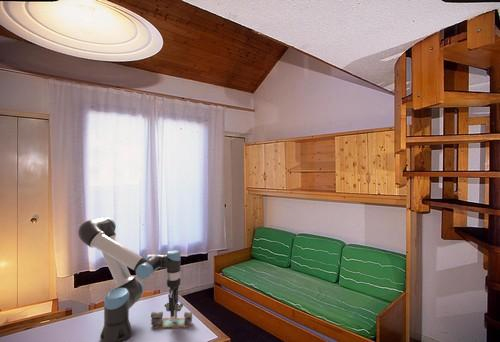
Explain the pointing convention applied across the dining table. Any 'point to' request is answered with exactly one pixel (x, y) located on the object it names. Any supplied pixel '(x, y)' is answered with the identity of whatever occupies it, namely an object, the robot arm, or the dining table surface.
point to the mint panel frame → (166, 322)
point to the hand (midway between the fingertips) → (173, 319)
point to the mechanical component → (175, 308)
